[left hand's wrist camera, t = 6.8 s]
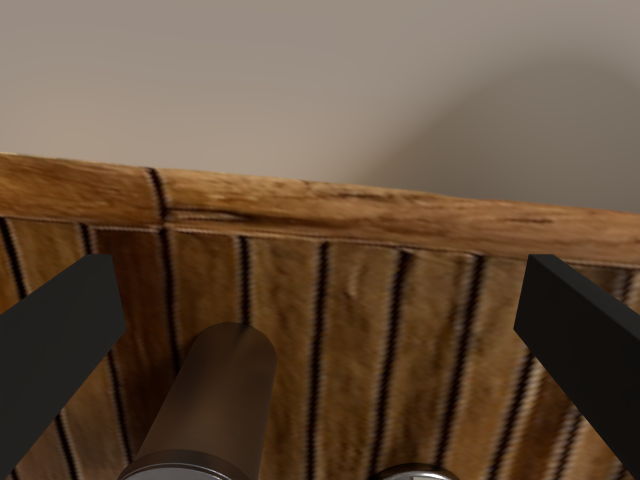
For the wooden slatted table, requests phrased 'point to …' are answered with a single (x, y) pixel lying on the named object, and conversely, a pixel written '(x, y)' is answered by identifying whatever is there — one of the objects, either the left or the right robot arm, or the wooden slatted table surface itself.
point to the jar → (219, 398)
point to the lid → (181, 467)
